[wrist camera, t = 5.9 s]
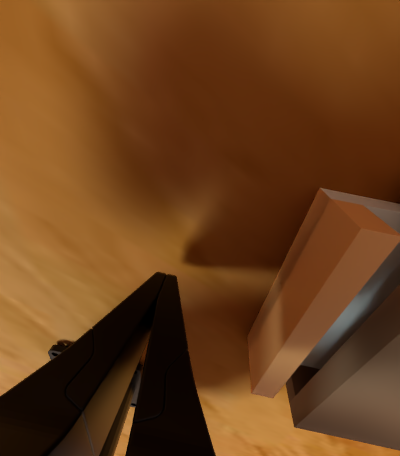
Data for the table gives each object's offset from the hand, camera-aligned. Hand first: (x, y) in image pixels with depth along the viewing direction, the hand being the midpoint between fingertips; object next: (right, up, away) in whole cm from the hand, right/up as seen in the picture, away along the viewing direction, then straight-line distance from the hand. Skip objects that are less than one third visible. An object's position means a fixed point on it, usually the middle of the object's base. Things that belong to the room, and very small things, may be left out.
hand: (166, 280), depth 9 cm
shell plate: (+9, -1, +1) cm, 9 cm away
